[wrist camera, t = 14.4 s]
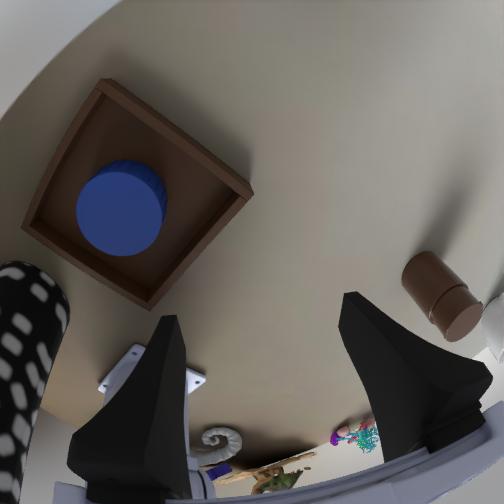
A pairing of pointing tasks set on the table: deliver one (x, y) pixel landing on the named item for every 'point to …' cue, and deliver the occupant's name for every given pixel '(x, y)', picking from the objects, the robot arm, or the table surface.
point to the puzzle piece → (218, 471)
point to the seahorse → (221, 453)
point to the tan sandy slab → (271, 476)
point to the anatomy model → (357, 434)
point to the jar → (441, 296)
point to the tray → (166, 167)
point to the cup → (494, 327)
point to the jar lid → (122, 208)
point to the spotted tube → (25, 362)
